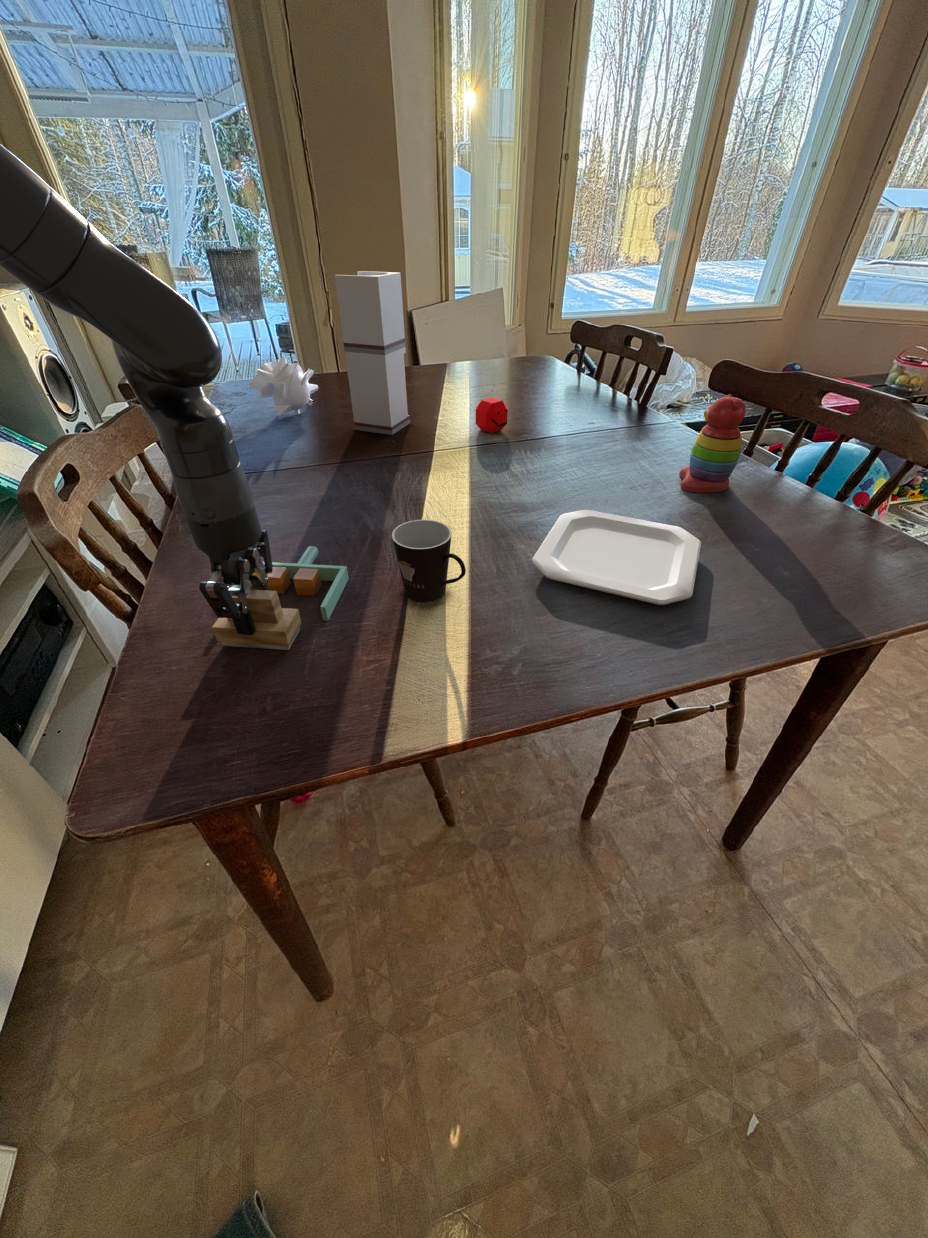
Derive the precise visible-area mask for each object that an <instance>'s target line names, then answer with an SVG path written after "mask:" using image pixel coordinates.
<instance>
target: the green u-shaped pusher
mask: <svg viewBox="0 0 928 1238" xmlns="http://www.w3.org/2000/svg"><path fill="white" fill-rule="evenodd" d="M319 554H320V553H319V549H318V548H317V547H316V546H314V545H309V546H307V548H306V549H305V551H304V552H303V554H302V555H301V557H300V559H298V562H297V563H293V562H292V563H291V562H277V561H275V562H273V561H272V567H285V568H287V570H288V574H289V578H290V580H293V578H294V577H295V575H296V574H297V572H298V571H299V569H300V568H306V569H319V574H320V578H321V581H327V582H329V581H330V582H332V584H331V585H330V588H329V589H328V591H327V593H326V595H325V596H324V598H323V601H322V602H321V605H320V606H319V607H320V613H321V617H322V621H329V620H330V618H331V616H332V614H333V612H334V610H335V608H336V606H337V604H338V602H339V600H340V598H341V596H342V594H343V592H344V589H345V588H346V586H347V583H348V582H349V580H350V579H349V578H350V577H349V573H348V567H347V566H346V565H329V564H314V562H315V560H316V558H317V557H318V555H319ZM262 562H263V564H265V563H264V561H262ZM250 585H251V584H250ZM230 587H231V588H241V585H231V586H230Z"/></svg>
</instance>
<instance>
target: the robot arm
mask: <svg viewBox="0 0 928 1238" xmlns="http://www.w3.org/2000/svg"><path fill="white" fill-rule="evenodd" d="M0 268H1V269H2V270H3V271H4V272H6V273H7V274H8V275H10V276H11V277H13V278H14V279H16V280H17V281H18V282H20V283H21V284H22V285H23V286H25V287H26V288H28V289H29V290H31V292H33V293H34V294H36V295H37V296H39V297H40V298H41V299H43V300H44V301H46V302H47V303H49V304H50V305H52V306H53V307H55V308H57V309H58V310H61V312H64V313H65V314H68V315H70V316H73V317H75V318H78V319H80V320H82V321H83V322H86V323H88V324H89V325H91V326H92V327H94V328H95V329H96V330H98V331H99V332H101V333H102V334H104V336H106V337H108V338H109V339H110V341H111V345H112V348H113V352H114V355H115V358H116V361H117V362H118V364H119V367H120V369H121V371H122V373H123V375H124V377H125V379H126V381H127V382H128V384H129V386H130V388H131V389H132V391H133V393H134V395H135V397H136V399H137V401H138V402H139V404H140V406H141V407H142V409H143V411H144V413H145V414H146V416H147V418H149V420H150V421H151V423H152V425H153V427H154V429H155V431H156V433H157V437H158V440H159V443H160V446H161V449H162V452H163V454H164V457H165V460H166V463H167V465H168V468H169V470H170V473H171V477H172V480H173V485H174V489H175V490H174V491H175V495H176V496H177V499H178V501H179V504H180V507H181V510H182V512H183V516H184V518H185V520H186V524H187V525H188V529H189V531H190V534H191V536H192V539H193V541H194V544H195V546H196V548H197V549H198V550H199V551H200V552H203V553H204V554H205V555H206V556H207V557H208V558H209V563H210V571H211V573H212V574H211V576H210V578H209V579H208V581H200V583H199V585H198V588H199V592H200V593H201V594H202V596H203V597H204V599H205V600H206V602H207V604H208V605H209V607H210V608H211V610H212V611H213V613H214V614H215V616H216V618H217V619H218V618H232V620H233V623H234V625H235V628H236V631H237V632H238V633H239V634H242V635H253V634H254V633H255V631H256V628H255V625H254V622H253V619H252V616H251V613H250V610H248V602H247V595H248V594H249V593H250V590H267V591H269V590H268V587H267V584H268V582H269V578H268V576H267V575H268V573H272V571H273V567H272V562H273V559H272V553H271V546H270V541H269V533H268V530H267V529H266V530H265V529H262V526H261V523H260V519H259V516H258V512H257V509H256V505H255V501H254V498H253V494H252V491H251V487H250V484H249V479H248V477H247V475H246V473H245V471H244V469H243V466H242V464H241V463H242V462H241V461H240V457H239V454H238V449H237V446H236V443H235V439H234V435H233V432H232V429H231V425H230V423H229V421H228V419H227V417H226V415H225V414H224V413H223V411H222V410H220V409H219V408H218V407H217V406H216V405H214V404H213V403H212V402H211V401H210V400H209V398H208V397H207V396H206V393H205V391H204V389H203V387H205V386H207V385H209V384H210V383H212V382H213V381H214V379H216V377H217V376H218V375H219V373H220V370H221V367H222V363H223V353H222V348H221V347H222V346H221V343H220V341H219V338H218V336H217V334H216V332H215V330H214V329H213V327H212V325H211V324H210V322H209V321H208V320H207V319H206V317H205V316H204V315H203V314H202V313H201V312H200V311H199V310H198V309H197V308H196V307H195V306H194V305H193V304H192V303H190V301H188V300H187V299H186V298H185V297H183V296H182V295H181V294H179V292H177V291H176V290H175V289H173V288H172V287H171V286H169V285H168V284H167V283H166V282H164V281H162V280H161V279H160V278H158V277H157V276H156V275H154V273H152V272H151V271H150V270H148V269H146V268H145V267H144V266H142V265H141V264H139V263H138V262H137V261H136V260H134V259H133V258H131V257H130V256H128V255H126V254H125V253H124V252H122V251H121V250H120V249H119V248H117V247H116V246H115V245H113V243H111V242H110V241H109V240H108V239H107V238H105V237H104V236H103V235H102V234H101V232H99V231H98V229H97V228H95V227H94V225H92V224H91V223H90V222H89V221H88V220H87V219H86V218H85V217H84V216H83V215H81V213H79V211H77V210H76V209H75V208H74V206H72V205H70V203H69V202H68V201H66V200H65V199H64V198H63V197H62V196H61V195H60V194H59V193H58V192H57V191H56V190H55V189H54V188H52V187H51V186H50V185H49V184H48V182H47V183H46V181H45V180H43V179H42V178H41V176H39V175H38V174H37V173H36V172H35V171H33V170H32V169H31V167H29V166H27V164H25V163H24V162H23V161H22V160H21V159H20V158H18V157H17V156H16V155H15V154H14V153H12V152H11V151H10V150H9V149H7V148H6V147H5V146H3V144H1V143H0ZM261 558H263V560H262V559H261ZM263 562H264V563H265V564H263ZM250 584H251V585H250ZM233 585H241V588H231V587H232V586H233ZM232 596H237V597H238V599H239V604H236V603H235V601H234V599H233V598H232Z"/></svg>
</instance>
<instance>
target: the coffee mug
mask: <svg viewBox="0 0 928 1238" xmlns="http://www.w3.org/2000/svg"><path fill="white" fill-rule="evenodd" d="M452 532H453V531H452V530H451V527H450V526H449V525H447V524H445V523H443V522H441V521H437V520H434V519H414V520H409V521H406V522H403V523H401V524H399V525H397V526H396V527H394V529H393V530H392V532H391V538H392V539H391V540H392V543H393V547H394V551H395V556H396V560H397V565H398V568H399V574H400V577H401V581H402V585H403V590H404V595H405V596H406V598H407V599H409V600H411V601H413V602H417V603H431V602H435V601H438V600H439V599H441V598H442V597H444V595H445V594H446V592H447V591H446V590H447V585H450V584H453V583H457V582H458V581H460V580H462V579H463V578H464V577H465V575H466V573H467V570H466V565H465V562H464V561H463V560H462V559H461V557H459V556H458V555H456V554H455V553H452V552H451V543H452V535H453V534H452ZM450 559H453V560H455V561H456V562H457V564H458V565H459V567H460V570H461V571H460V574H459V575H458V576H457V577H454V578H450V579H448V572H449V564H450V563H449V562H450Z"/></svg>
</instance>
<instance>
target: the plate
mask: <svg viewBox="0 0 928 1238" xmlns="http://www.w3.org/2000/svg"><path fill="white" fill-rule="evenodd" d="M701 546H702V542H701V540H700V539H699V538H698V537H696V536H694V535H693V534H692V533H690V532H689V531H688V530H686V529H685V528H683V527H680V526H678V525H673V524H667V523H661V522H655V521H651V520H645V519H640V518H635V517H629V516H623V515H618V514H613V513H607V512H603V511H596V510H593V509H592V510H591V509H580V510H576V511H571V512H565V513H562V514H561V515H559V516H558V518H557V519H556V521H555V523H554V524H553V526H552V527H551V529H550V530H549V532H548V534H547V535H546V536H545V538H544V540H543V542H542V543H541V544H540V545H539V548H538V549H537V551H536V552H535V554H534V555H533V557H532V559H531V561H532V563H533V565H534V566H535V567H536V568H537V569H538V570H539V571H540V572H541V574H542V575H544V577H545V578H547V579H549V580H553V581H557V582H560V583H566V584H569V585H574V586H578V587H583V588H587V589H591V590H595V591H599V592H604V593H608V594H613V595H616V596H621V597H624V598H629V599H633V600H638V601H641V602H647V603H651V604H653V605H654V604H655V605H657V606H659V605H661V606H665V605H669V604H673V603H677V602H681V601H684V600H688V599H690V598H691V597H692V596H693V593H694V588H695V581H696V576H697V570H698V565H699V559H700V558H699V557H700V554H701V553H700V552H701Z"/></svg>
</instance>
